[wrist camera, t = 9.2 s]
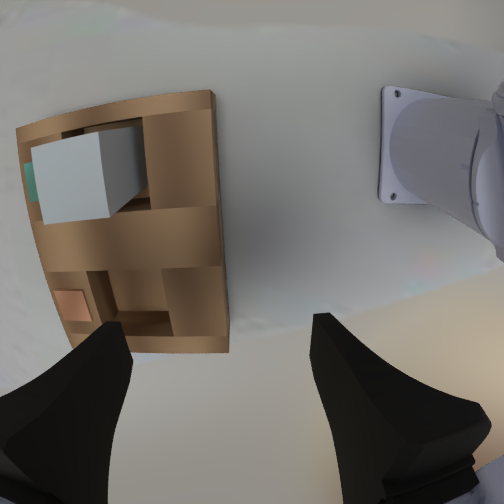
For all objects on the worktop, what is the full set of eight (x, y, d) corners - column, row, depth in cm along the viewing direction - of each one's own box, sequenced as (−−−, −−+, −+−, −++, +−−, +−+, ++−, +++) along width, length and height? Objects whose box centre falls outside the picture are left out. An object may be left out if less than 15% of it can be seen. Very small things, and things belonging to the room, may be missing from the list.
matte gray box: (146, 125, 17) (98, 131, 11) (152, 182, 18) (109, 217, 12) (94, 134, 17) (30, 147, 10) (100, 188, 18) (44, 224, 12)
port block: (215, 94, 17) (209, 89, 14) (229, 321, 23) (228, 354, 20) (45, 124, 17) (13, 128, 13) (88, 321, 23) (71, 349, 20)
